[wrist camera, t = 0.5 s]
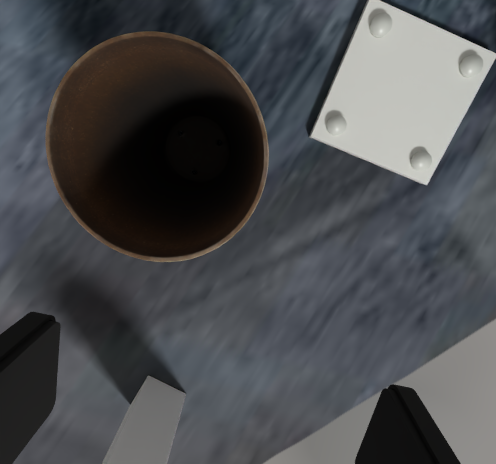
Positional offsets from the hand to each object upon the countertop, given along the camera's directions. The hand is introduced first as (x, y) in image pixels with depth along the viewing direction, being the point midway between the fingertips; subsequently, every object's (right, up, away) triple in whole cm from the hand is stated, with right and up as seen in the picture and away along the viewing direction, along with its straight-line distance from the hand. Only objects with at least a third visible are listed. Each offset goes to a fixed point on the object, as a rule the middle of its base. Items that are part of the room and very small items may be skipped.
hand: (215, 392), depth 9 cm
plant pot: (-5, +14, +28) cm, 32 cm away
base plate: (+17, +19, +26) cm, 36 cm away
